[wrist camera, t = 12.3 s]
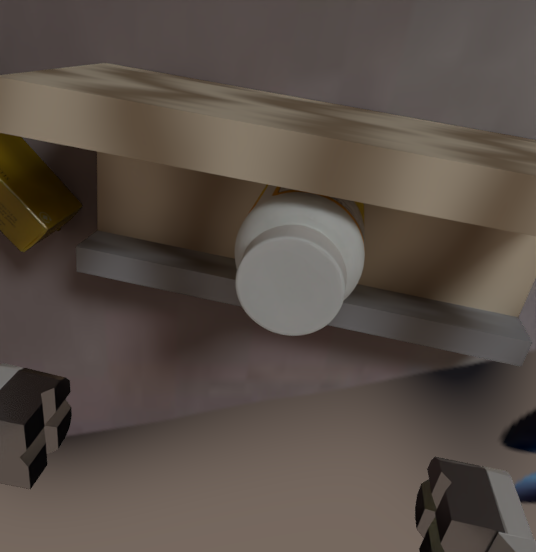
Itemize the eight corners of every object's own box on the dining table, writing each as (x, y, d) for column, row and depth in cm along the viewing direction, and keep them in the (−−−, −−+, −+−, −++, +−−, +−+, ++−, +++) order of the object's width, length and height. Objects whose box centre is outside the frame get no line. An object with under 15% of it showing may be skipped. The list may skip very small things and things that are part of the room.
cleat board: (104, 254, 31) (16, 331, 23) (105, 62, 26) (-7, 75, 18) (500, 337, 29) (554, 452, 21) (581, 148, 24) (692, 204, 16)
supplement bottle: (329, 134, 25) (314, 187, 16) (383, 223, 26) (395, 314, 18) (242, 190, 27) (187, 264, 18) (296, 270, 28) (270, 372, 20)
